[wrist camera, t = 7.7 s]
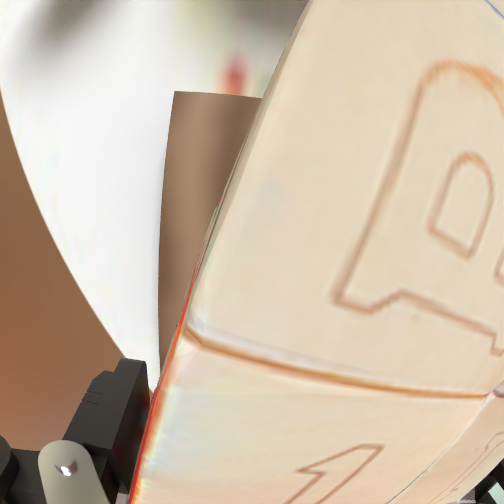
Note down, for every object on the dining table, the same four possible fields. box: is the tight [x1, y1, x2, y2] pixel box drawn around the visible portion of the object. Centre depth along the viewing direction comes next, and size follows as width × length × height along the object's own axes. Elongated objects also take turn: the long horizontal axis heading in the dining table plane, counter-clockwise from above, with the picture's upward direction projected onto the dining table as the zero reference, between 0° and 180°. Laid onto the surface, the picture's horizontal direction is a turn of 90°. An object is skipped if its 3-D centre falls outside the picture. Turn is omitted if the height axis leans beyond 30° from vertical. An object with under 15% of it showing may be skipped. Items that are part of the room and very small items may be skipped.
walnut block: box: [158, 91, 262, 374], centre depth 25 cm, size 12×24×5 cm, turn 173°
